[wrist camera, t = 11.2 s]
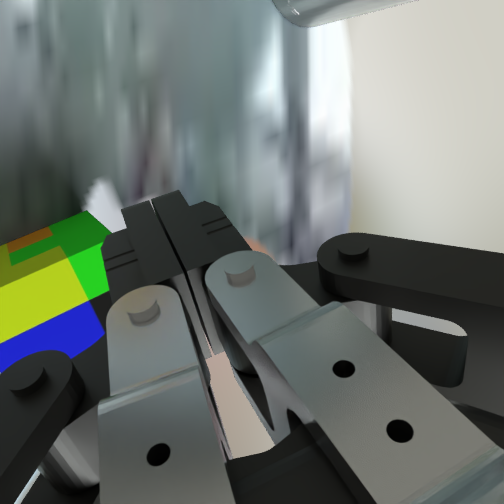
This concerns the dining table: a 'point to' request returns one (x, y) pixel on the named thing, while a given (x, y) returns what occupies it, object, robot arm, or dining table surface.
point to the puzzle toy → (53, 290)
